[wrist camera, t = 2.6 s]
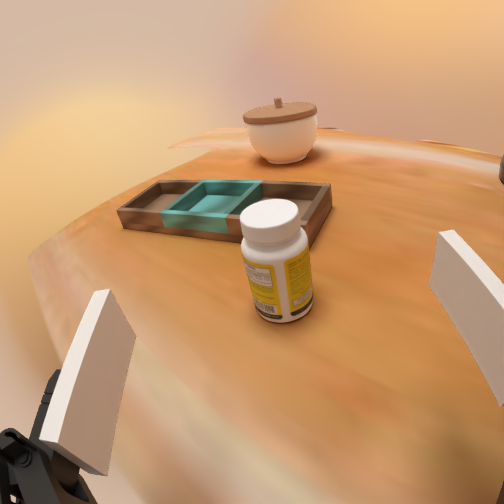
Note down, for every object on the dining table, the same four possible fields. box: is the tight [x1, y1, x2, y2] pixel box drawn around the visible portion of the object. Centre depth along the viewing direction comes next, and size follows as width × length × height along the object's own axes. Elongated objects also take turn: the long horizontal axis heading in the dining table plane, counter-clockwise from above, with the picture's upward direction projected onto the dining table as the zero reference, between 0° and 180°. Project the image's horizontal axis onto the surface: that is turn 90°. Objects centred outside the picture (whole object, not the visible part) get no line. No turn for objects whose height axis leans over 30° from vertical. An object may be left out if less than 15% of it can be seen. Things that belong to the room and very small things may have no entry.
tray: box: [116, 180, 332, 249], centre depth 40 cm, size 27×10×3 cm, turn 63°
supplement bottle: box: [240, 199, 313, 323], centre depth 23 cm, size 5×5×8 cm
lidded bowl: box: [243, 98, 317, 164], centre depth 52 cm, size 13×13×11 cm
